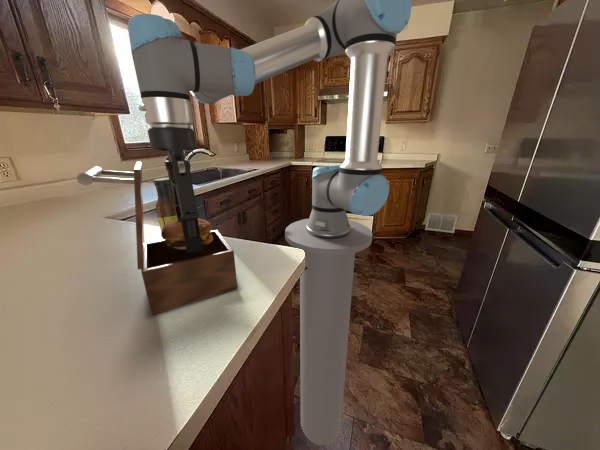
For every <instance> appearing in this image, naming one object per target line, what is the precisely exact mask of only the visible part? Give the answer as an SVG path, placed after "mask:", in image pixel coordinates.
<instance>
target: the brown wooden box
mask: <svg viewBox="0 0 600 450" xmlns="http://www.w3.org/2000/svg"><path fill="white" fill-rule="evenodd" d="M210 232H211V234H212V236H213V241H212V242H211V243H210V244H208V245H207V244H203V245H202V251H197V252H192V253H188V254H187V251H186V249H176V248H173V247H170V246H168V245H167V244H166V243H165V240H163V239H159V240H153V241H148V242H144V264H143V269H140V271H141V277H142V280H143V284H144V288H145V292H146V297H147V299H148V300H147V301H148V304H149V308H150V312H151V315H155V314H160V313H162V312H166V311H169V310H172V309H175V308H178V307H181V306H185V305H188V304H192V303H195V302H199V301H201V300H204V299H205V300H206V299H209V298H212V297H214V296H218V295H221V294H225V293H228V292H231V291H234V290H237V289H239V287H238V279H237V270H236V269H237V268H236V259H235V251H234V249H233V248H232V246H231V245H230V244H229V243H228V241H227V240H226V238H225V237H223V235H222V234H221V232H220V231H219V230H218V229H214V230H210Z"/></svg>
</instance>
